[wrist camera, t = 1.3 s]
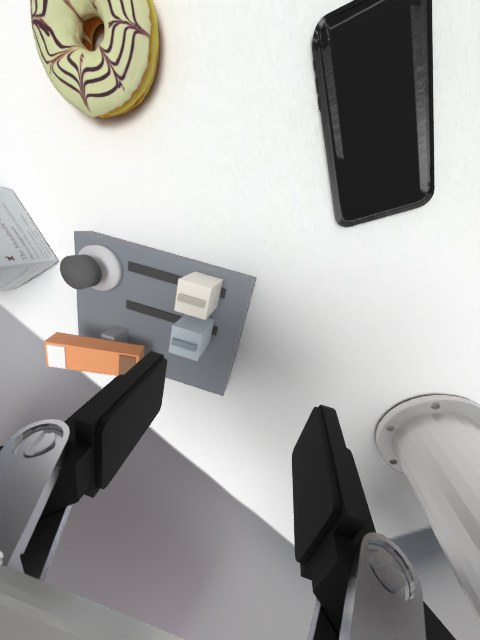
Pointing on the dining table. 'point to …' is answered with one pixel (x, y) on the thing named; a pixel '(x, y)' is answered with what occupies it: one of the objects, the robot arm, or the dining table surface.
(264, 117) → the dining table surface
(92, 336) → the console
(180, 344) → the slate knob
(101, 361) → the rocker switch
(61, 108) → the dining table surface
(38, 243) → the supplement box
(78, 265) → the push button
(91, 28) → the decorated donut
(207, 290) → the ivory knob
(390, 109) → the phone
